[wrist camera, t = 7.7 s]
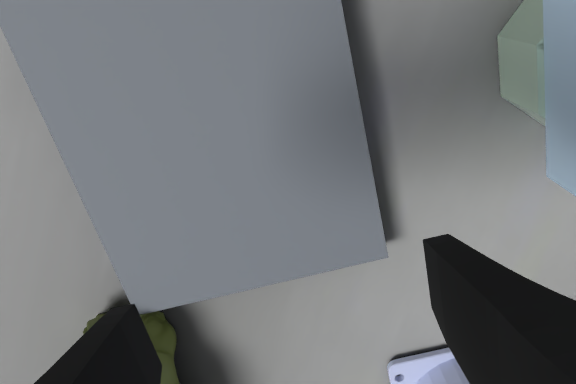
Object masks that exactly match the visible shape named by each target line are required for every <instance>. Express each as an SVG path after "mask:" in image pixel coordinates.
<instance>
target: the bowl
mask: <svg viewBox="0 0 576 384" xmlns="http://www.w3.org/2000/svg"><path fill="white" fill-rule="evenodd" d="M497 42H498V59H499V75H500V92H501V97H503V98H504V99H505V100H507V101H508V102H510V103H511V104H513V105H514V106H516V107H517V108H519V109H520V110H522V111H523V112H524V113H526V114H527V115H529V116H530V117H532V118H533V119H535V120H536V121H538V122H539V123H541V124H542V125H543V126H545V81H544V35H543V0H523V2H522V3H521V5H520V6H519V7H518V9H517V10H516V11H515V13H514V14H513V15H512V17H511V18H510V20H509V21H508V22H507V24H506V25H505V26H504V28H503V29H502V30H501V32H500V33H499V34H498V36H497Z"/></svg>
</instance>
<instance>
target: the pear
mask: <svg viewBox="0 0 576 384" xmlns="http://www.w3.org/2000/svg"><path fill="white" fill-rule="evenodd" d="M105 314H106V313H105ZM103 315H104V314H98V315H97V316H96V318H94V319H92V320H89V321H88V322H87V327H86V328H85V329H84V331H83V333H84V334H85V333H86V332H87V331H88V330H89V329H90V328H91V327H92V326H93V325H94V324H95V323H96V322H97V321H98V320H99V319H100V318H101V317H102V316H103ZM140 317H141V319H142V321H143V323H144V326H145V328H146V330H147V332H148V334H149V337H150V339H151V341H152V343H153V346H154V348H155V350H156V352H157V355H158V357H159V359H160V361H161V364H162V373H161V383H160V384H180V383H179V380H178V377H177V373H176V368H175V364H174V353H175V348H176V341H177V339H176V333H175V330H174V328H173V327H172V326H171V325H170V324H169V323H168V322H167V321H166V319H165V316H164V313H163V312H159V311H155V312H151V313H147V314H140Z"/></svg>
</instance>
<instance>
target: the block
mask: <svg viewBox="0 0 576 384" xmlns="http://www.w3.org/2000/svg"><path fill="white" fill-rule="evenodd" d="M543 35H544V81H545V128H546V174H547V177H548V178H550V179H551V180H553V181H554V182H555V183H557V184H558V185H560V186H561V187H563V188H564V189H566V190H567V191H569V192H570V193H572V194H573V195H575V196H576V0H543Z"/></svg>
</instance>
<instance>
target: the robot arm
mask: <svg viewBox="0 0 576 384" xmlns="http://www.w3.org/2000/svg"><path fill="white" fill-rule="evenodd" d="M423 245H424V252H425V260H426V268H427V275H428V283H429V291H430V299H431V306H432V310H433V312H434V314H435V317H436V319H437V322H438V324H439V327H440V329H441V331H442V334H443V336H444V338H445V341H446V343H447V345H448V347H449V348H444V349H440V350H435V351H431V352H426V353H422V354H417V355H413V356H408V357H404V358H399V359H395V360H392V361H391V362H389V364H388V365H387V370H388V375H389V379H390V384H576V301H575V300H573V299H570V298H568V297H566V296H563V295H561V294H559V293H557V292H554V291H552V290H550V289H548V288H546V287H544V286H542V285H540V284H537V283H535V282H533V281H531V280H529V279H527V278H525V277H523V276H521V275H519V274H517V273H515V272H514V271H512V270H510V269H508V268H506V267H504V266H503V265H501V264H499V263H497V262H495V261H494V260H492V259H490V258H488V257H487V256H485V255H483V254H481V253H480V252H478V251H476V250H475V249H473V248H471V247H470V246H468V245H466V244H465V243H463V242H461V241H460V240H458V239H456V238H454V237H453V236H451V235H449V234H446V235H441V236H437V237H432V238H428V239H423ZM161 373H162V364H161V361H160V359H159V357H158V355H157V352H156V350H155V348H154V346H153V343H152V341H151V339H150V337H149V334H148V332H147V330H146V328H145V326H144V323H143V321H142V319H141V317H140V314H139V312H138V310H137V308H136V305H135V304H130V305H126V306H121V307H117V308H112V309H110V310H109V311H108V312H107V313H106V314H104V315H103V316H102V317H101V318H100V319H99V320H98V321H97V322H96V323H95V324H94V325H93V326H92V327H91V328H90V329H89V330H88V331H87V332H86V333H85V334H84V335H83V336H82V337H81V338H80V339H79V340H78V341H77V342H76V343H75V344H74V345H73V346H72V347H71V348H70V349H69V350H68V351H67V352H66V353H65V354H64V355H63V356H62V357H61V358H60V359H59V360H58V361H57V362H56V363H55V364H54V365H53V366H52V367H51V368H50V369H49V370H48V371H47V372H46V373H45V374H44V375H43V376H41V377H40V378H39V379H38V380H37V381H36V382H35V383H34V384H160V383H161ZM398 374H401V375H400V376H396V375H398Z"/></svg>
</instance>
